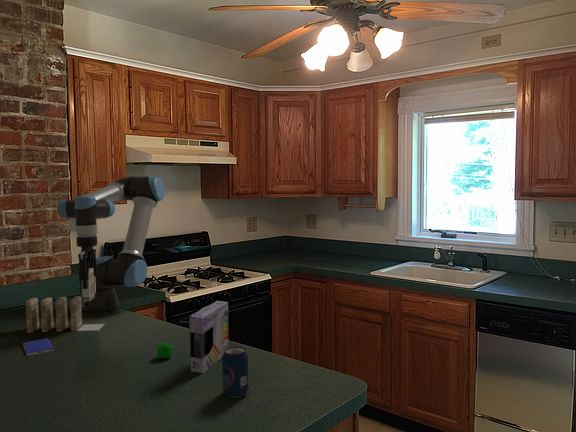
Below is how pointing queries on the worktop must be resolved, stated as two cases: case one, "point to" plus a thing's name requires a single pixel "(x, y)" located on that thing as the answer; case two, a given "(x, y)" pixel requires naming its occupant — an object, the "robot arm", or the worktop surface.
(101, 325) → the end pad
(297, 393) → the worktop surface
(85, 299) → the domino
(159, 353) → the polyhedron
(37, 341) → the hard drive
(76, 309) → the domino
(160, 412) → the worktop surface
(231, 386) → the soda can
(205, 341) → the cake pan box
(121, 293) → the worktop surface
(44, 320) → the domino
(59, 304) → the domino
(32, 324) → the domino
